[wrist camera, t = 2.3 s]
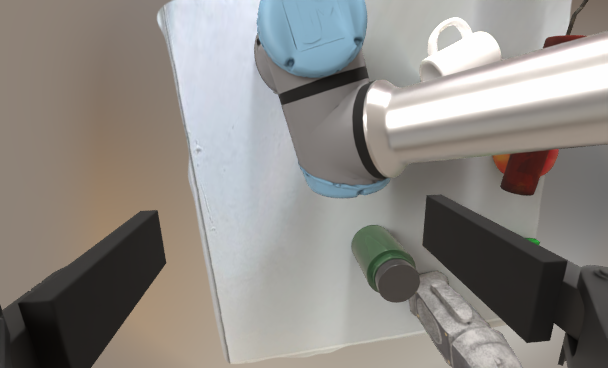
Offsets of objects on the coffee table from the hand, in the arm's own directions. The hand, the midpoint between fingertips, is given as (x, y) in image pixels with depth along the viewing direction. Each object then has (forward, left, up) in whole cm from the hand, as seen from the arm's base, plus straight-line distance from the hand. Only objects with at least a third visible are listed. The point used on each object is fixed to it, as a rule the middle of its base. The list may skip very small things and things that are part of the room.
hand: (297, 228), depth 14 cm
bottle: (+29, +4, -42) cm, 51 cm away
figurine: (+47, +9, -43) cm, 64 cm away
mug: (+4, +33, -43) cm, 54 cm away
